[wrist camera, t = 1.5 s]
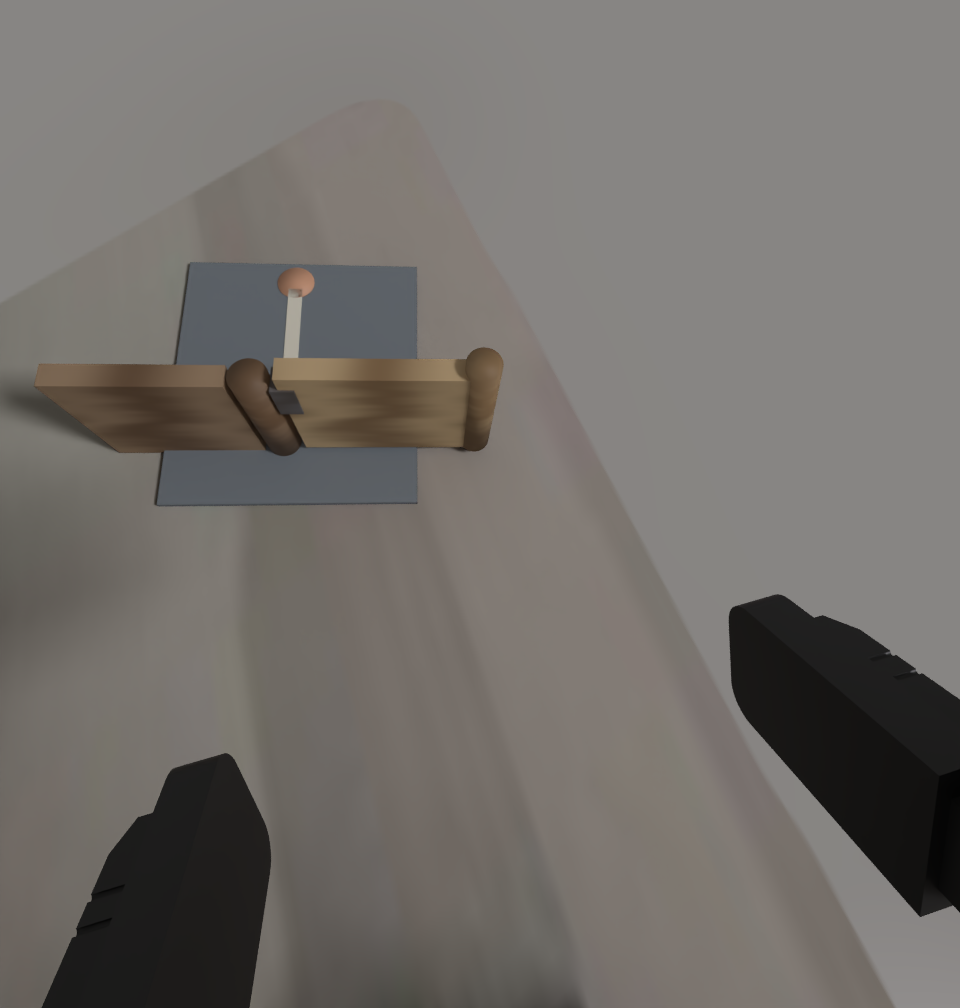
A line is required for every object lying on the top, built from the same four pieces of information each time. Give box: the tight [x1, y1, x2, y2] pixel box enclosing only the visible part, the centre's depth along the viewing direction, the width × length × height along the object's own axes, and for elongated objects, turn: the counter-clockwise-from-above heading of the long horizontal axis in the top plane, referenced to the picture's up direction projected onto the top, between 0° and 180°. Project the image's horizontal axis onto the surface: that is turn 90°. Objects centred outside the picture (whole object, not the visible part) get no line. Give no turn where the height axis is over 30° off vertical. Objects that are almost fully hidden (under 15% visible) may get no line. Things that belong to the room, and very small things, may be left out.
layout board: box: [157, 262, 417, 506], centre depth 38 cm, size 15×17×1 cm
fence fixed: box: [34, 358, 302, 456], centre depth 32 cm, size 11×2×8 cm, turn 92°
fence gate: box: [269, 348, 503, 451], centre depth 32 cm, size 11×2×9 cm, turn 92°
